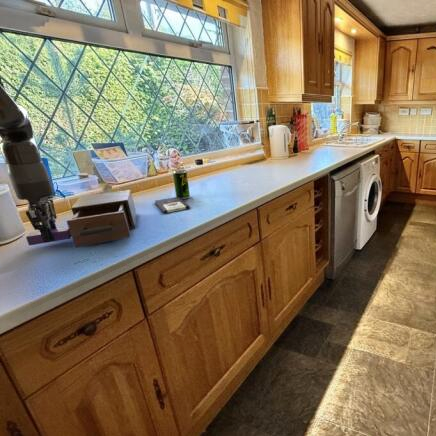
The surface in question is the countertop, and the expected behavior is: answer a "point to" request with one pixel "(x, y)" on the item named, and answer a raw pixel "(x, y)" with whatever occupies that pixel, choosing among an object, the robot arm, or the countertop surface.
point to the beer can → (181, 183)
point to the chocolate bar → (171, 204)
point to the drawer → (99, 224)
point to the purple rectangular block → (57, 233)
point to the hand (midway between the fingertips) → (51, 238)
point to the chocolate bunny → (106, 188)
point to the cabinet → (108, 203)
